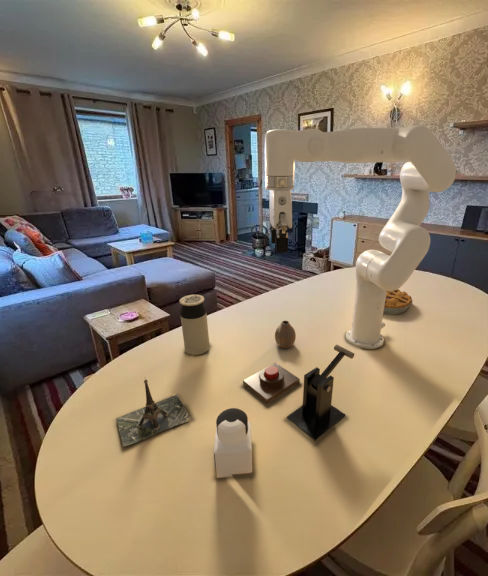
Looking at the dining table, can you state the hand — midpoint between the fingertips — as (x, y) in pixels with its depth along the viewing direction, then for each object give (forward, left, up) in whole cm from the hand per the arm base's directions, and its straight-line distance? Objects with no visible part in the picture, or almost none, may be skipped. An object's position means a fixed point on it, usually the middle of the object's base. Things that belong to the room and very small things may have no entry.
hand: (279, 247), depth 86 cm
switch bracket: (+12, +26, -35) cm, 46 cm away
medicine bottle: (+33, +22, -35) cm, 53 cm away
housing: (+12, +10, -35) cm, 39 cm away
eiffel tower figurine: (+41, 0, -35) cm, 54 cm away
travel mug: (+18, -20, -35) cm, 44 cm away
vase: (-5, -2, -35) cm, 36 cm away
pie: (-59, +4, -35) cm, 69 cm away
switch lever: (+8, +26, -23) cm, 36 cm away
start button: (+12, +10, -31) cm, 35 cm away
